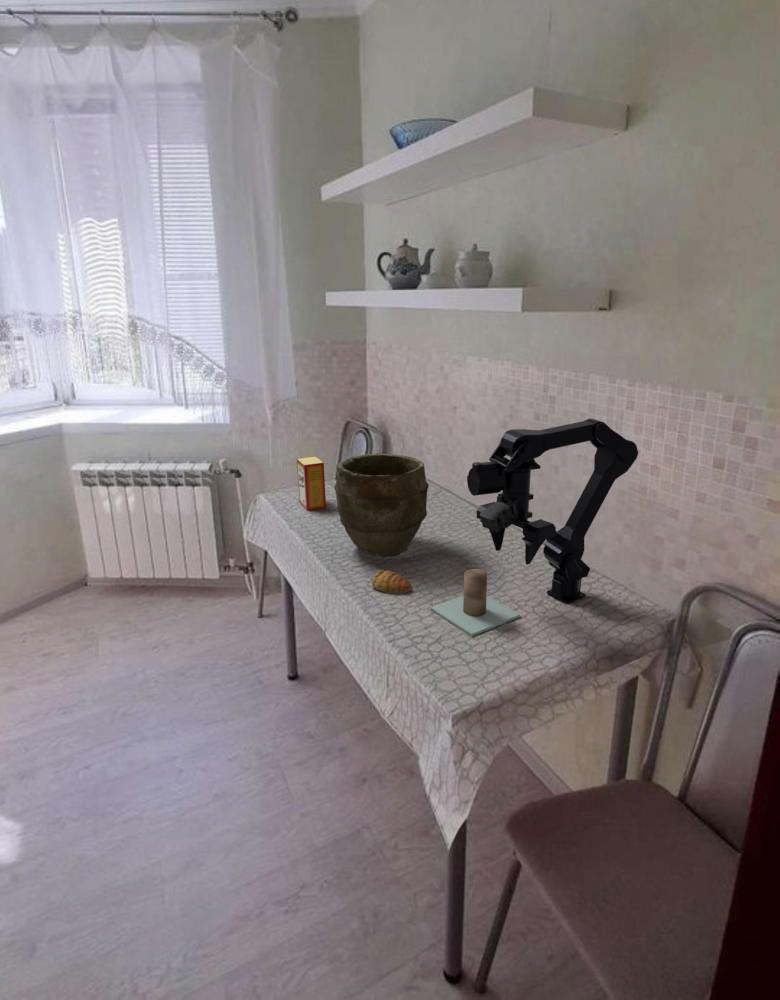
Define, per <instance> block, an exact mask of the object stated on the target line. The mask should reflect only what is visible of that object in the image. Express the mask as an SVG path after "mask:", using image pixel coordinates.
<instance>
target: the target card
mask: <svg viewBox="0 0 780 1000" xmlns="http://www.w3.org/2000/svg"><path fill="white" fill-rule="evenodd" d="M463 600H464V595H460V596H459V597H456V598H453V599H450V600H448V601H447V600H446V601H444V602H441V603H439V604H435V605H433V606H430V609H429V610H430V611H432V612H433V613H434V614H436V615H438V616H439V617H440V618H441V619H442V618H443V619H444V620H446V621H447V622H448V623H450V624H452V625H453V626H455V627H456V628H458V629H459V630H461V631H463V632H464V633H466V634H467V635H468V636H470V637H473V636H476V635H479V634H481V633H484V632H486V631H488V630H491V629H494V628H496V627H498V625H499V626H501V625H504V624H506V623H509V622H511V621H513V620H515V619H518V618H521V614H520V613H519V612H516V611H515V610H513V609H511V608H510V607H508V606H506V605H504V604H503V603H501V602H498V601H497V600H495V599H493V598H491V597H489V596H488V595H487V597H486V613H485V614H484V615H482V616H469V615H467V614H465V613H464V612H463Z"/></svg>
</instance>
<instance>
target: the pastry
mask: <svg viewBox="0 0 780 1000" xmlns="http://www.w3.org/2000/svg"><path fill="white" fill-rule="evenodd" d="M371 586H372V587H373V588H374V589H375V590H377V591H381V592H382V593H383V592H384V593H389V594H399V595H400V594H406V593H408V592H409V591H410V590H411V589H412V583H411V581H410V580H408V578H407V577H404V576H403V575H401V574H399V573H397V572H396V571H392V570H386V571H385V570H383V569H379V570H378V571H376V572H375V575H374V576H373V578H372V583H371Z"/></svg>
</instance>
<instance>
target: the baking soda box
mask: <svg viewBox="0 0 780 1000" xmlns="http://www.w3.org/2000/svg"><path fill="white" fill-rule="evenodd" d="M296 473H297V486H298V487H297V488H298V498H299V500H298V501H299V504H300V505H301V506H302V507H303V508H304V509H305V510H306V511H307V512H309V511H316V510H322V509H327V502H326V501H327V500H326V499H327V498H326V483H325V482H326V480H325V463H324V462H323V461H322V460H321V459H319V458H318V457H317V456H315V455H314V456H307V457H300V458H299V457H298V458H296Z"/></svg>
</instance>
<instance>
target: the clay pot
mask: <svg viewBox="0 0 780 1000" xmlns="http://www.w3.org/2000/svg"><path fill="white" fill-rule="evenodd" d="M335 473H336V475H335V476H336V481H335V484H334V487H333V488H334V490H335V497H336V503H337V505H336V507H337V511H338V515H339V521H340V523H341V525H342V526H343V527H344V529H345V532H346V533H347V535H348V537H349V539H350V540H351V541H352V543H353V544H354V545H355V546H356V547H357V548H359V549H360V550H361V551H362V552H366V553H369V554H371V555H373V556H378V557H381V558H392V557H398V556H399V555H400V554H403V553H405V552H406V551H407V549H408V547H409V545H410V544H411V542H412V541H413V539H414V538H415V537H416V534H417V533H418V531H419V529H420V528H421V525H422V523H423V521H424V520H425V519H426V517H427V515H428V512H427V511H428V510H427V500H428V490H429V487H430V485H429V483H428V481H427V479H426V469H425V463H424V462H423V461H422V460H421V459H418V458H416V457H412V456H407V455H400V454H395V453H380V452H379V453H375V454H374V453H368V454H361V455H355V456H351V457H350V458H346V459H345V460H342V461H339V463H337V464H336V472H335Z"/></svg>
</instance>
